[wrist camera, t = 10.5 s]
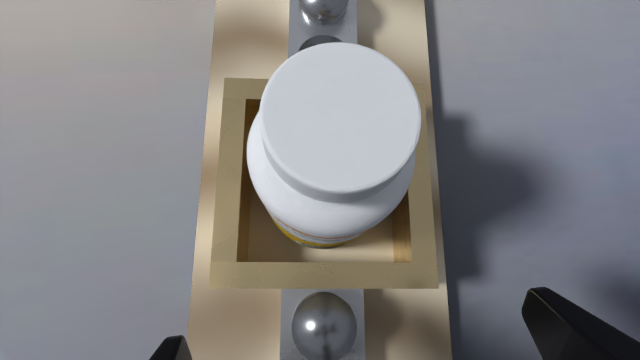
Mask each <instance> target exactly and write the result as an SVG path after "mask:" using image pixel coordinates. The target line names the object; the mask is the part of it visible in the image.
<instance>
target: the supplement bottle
mask: <svg viewBox="0 0 640 360" xmlns="http://www.w3.org/2000/svg"><path fill="white" fill-rule="evenodd" d="M421 125H422V115H421V107H420V103H419V100H418V97H417V94H416V91H415V89H414V87H413V85H412V83H411V82H410V80H409V79H408V77H407V76H406V75H405V73H404V72H403V71H402V70H401V68H399V67H398V66H397V65H396V64H395V63H394V62H393V61H391V60H390V59H389V58H387V57H386V56H385V55H383V54H381V53H379V52H377V51H375V50H373V49H371V48H368V47H365V46H361V45H358V44H353V43H343V42H334V43H324V44H319V45H315V46H312V47H309V48H306V49H304V50H301V51H299V52H298V53H296V54H294V55H293V56H291V57H290V58H288V59H287V60H286V61H285V62H284V63H283V64H281V65H280V67H279V68H278V69H277V70H276V71H275V72H274V73H273V75H272V76H271V78H270V79H269V81H268V83H267V85H266V87H265V89H264V92H263V95H262V98H261V102H260V108H259V112H258V113H257V115H256V117H255V119H254V121H253V124H252V126H251V129H250V132H249V136H248V141H247V164H248V170H249V174H250V177H251V180H252V183H253V186H254V188H255V190H256V192H257V194H258V196H259V198H260V199H261V201H262V203H263V204H264V206H265V207H266V209H267V211H268V212H269V214H270V216H271V218H272V220H273V221H274V223H275V224H276V226H277V227H278V228H279V230H280V231H281V232H282V233H283V234H284V235H285V236H287V237H288V238H289V239H291V240H292V241H294V242H296V243H298V244H300V245H302V246H305V247H309V248H313V249H331V248H336V247H340V246H343V245H345V244H347V243H349V242H351V241H353V240H355V239H356V238H357V237H359V236H360V235H362V234H363V233H365V232H367V231H368V230H370V229H371V228H373V227H374V226H376V225H377V224H378V223H379V222H381V221H382V220H383V219H385V218H386V217H387V216H388V215H389V214H390V213H391V212H392V211H393V210H394V209H395V208H396V207H397V205H398V204H399V203H400V201H401V200H402V198H403V197H404V195H405V194H406V192H407V189H408V187H409V185H410V183H411V179H412V176H413V172H414V166H415V149H416V147H417V144H418V141H419V137H420V133H421Z"/></svg>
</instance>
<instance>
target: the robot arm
mask: <svg viewBox="0 0 640 360" xmlns="http://www.w3.org/2000/svg"><path fill="white" fill-rule="evenodd" d="M522 316H523V319H524V321H525V323H526V325H527V327H528V329H529V331H530V333H531V336H532V338H533V340H534V342H535V344H536V346H537V348H538V350H539V352H540V354H541V356H542V358H543V360H640V342H638V341H636V340H635V339H633V338H631V337H629V336H628V335H626V334H624V333H623V332H621V331H619V330H618V329H616V328H614V327H613V326H611V325H609V324H608V323H606V322H604V321H603V320H601V319H599V318H598V317H596V316H594V315H592V314H591V313H589V312H587V311H586V310H584V309H582V308H581V307H579V306H577V305H576V304H574V303H572V302H571V301H569V300H567V299H566V298H564V297H562V296H560V295H559V294H557V293H555V292H554V291H552V290H550V289H549V288H546V287H537V288H531V289H529V290H528V292H527V294H526V297H525V300H524V303H523V306H522ZM149 360H192V356H191V353H190V350H189V347H188V345H187V342H186V339H185V337H184V336H182V335H179V336H171V337H167V338H166V339H165V340H164V341H163V342H162V343H161V344H160V346H159V347H158V348H157V350H156V351H155V352H154V354H153V355H152V356H151V358H150V359H149Z"/></svg>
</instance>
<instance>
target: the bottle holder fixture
mask: <svg viewBox="0 0 640 360" xmlns="http://www.w3.org/2000/svg"><path fill="white" fill-rule="evenodd" d="M334 42H343V43H353V44H357V6H356V0H290V2H289V37H288V58H290V57H291V56H293V55H294V54H296V53H298V52H299V51H301V50H304V49H306V48H309V47H312V46H315V45H319V44H324V43H334ZM268 81H269V79H253V78H224V89H223V102H222V116H221V129H220V142H219V156H218V169H217V182H216V195H215V209H214V222H213V235H212V249H211V262H210V275H209V289H281V323H280V359H279V360H365V326H364V289H439V285H438V272H437V258H436V245H435V231H434V218H433V204H432V190H431V177H430V163H429V150H428V136H427V122H426V109H425V95H424V83H412V85H413V87H414V89H415V91H416V94H417V97H418V100H419V103H420V107H421V115H422V125H421V133H420V137H419V141H418V144H417V147H416V149H415V166H414V172H413V176H412V179H411V183H410V185H409V187H408V189H407V192H406V194H405V195H404V197H403V198H402V200H401V201H400V203H399V204H398V205H397V207H396V208H395V209H394V210H393V211H392V233H393V255H394V263H340V262H247V261H248V242H249V222H250V202H251V183H252V180H251V177H250V174H249V170H248V164H247V141H248V136H249V132H250V129H251V126H252V124H253V121H254V119H255V117H256V115H257V113H258V112H259V108H260V102H261V98H262V95H263V92H264V89H265V87H266V85H267V83H268Z"/></svg>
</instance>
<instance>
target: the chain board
mask: <svg viewBox="0 0 640 360" xmlns="http://www.w3.org/2000/svg"><path fill="white" fill-rule="evenodd" d="M289 2H290V0H216V10H215V22H214V33H213V45H212V57H211V68H210V80H209V91H208V103H207V115H206V126H205V138H204V149H203V161H202V173H201V184H200V196H199V207H198V219H197V231H196V242H195V254H194V265H193V277H192V289H191V300H190V312H189V323H188V335H187V345H188V347H189V350H190V353H191V356H192V360H279V359H280V323H281V289H209V275H210V262H211V249H212V235H213V222H214V209H215V195H216V182H217V169H218V156H219V142H220V129H221V116H222V102H223V89H224V78H253V79H270V78H271V76H272V75H273V73H274V72H275V71H276V70H277V69H278V68H279V67H280V65H281V64H283V63H284V62H285V61H286V60H287V59H288V37H289ZM356 6H357V44H358V45H361V46H365V47H368V48H371V49H373V50H375V51H377V52H379V53H381V54H383V55H385V56H386V57H387V58H389V59H390V60H391V61H393V62H394V63H395V64H396V65H397V66H398V67H399V68H401V70H402V71H403V72H404V73H405V75H406V76H407V77H408V79H409V80H410V82H411V83H424V95H425V109H426V122H427V136H428V150H429V163H430V177H431V190H432V204H433V218H434V231H435V245H436V258H437V272H438V285H439V289H364V326H365V360H452V348H451V335H450V323H449V310H448V297H447V285H446V272H445V259H444V247H443V234H442V221H441V208H440V196H439V183H438V170H437V158H436V145H435V132H434V120H433V107H432V94H431V82H430V69H429V56H428V44H427V31H426V18H425V5H424V0H356ZM247 262H340V263H394V255H393V233H392V212H391V213H390V214H389V215H388V216H387V217H386V218H385V219H383V220H382V221H381V222H379V223H378V224H377V225H376V226H374V227H373V228H371V229H370V230H368V231H367V232H365V233H363V234H362V235H360V236H359V237H357V238H356V239H355V240H353V241H351V242H349V243H347V244H345V245H343V246H340V247H336V248H331V249H313V248H309V247H305V246H302V245H300V244H298V243H296V242H294V241H292V240H291V239H289V238H288V237H287V236H285V235H284V234H283V233H282V232H281V231H280V230H279V228H278V227H277V226H276V224H275V223H274V221H273V220H272V218H271V216H270V214H269V212H268V211H267V209H266V207H265V206H264V204H263V203H262V201H261V199H260V198H259V196H258V194H257V192H256V190H255V188H254V186H253V183H251V202H250V222H249V242H248V261H247Z"/></svg>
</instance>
